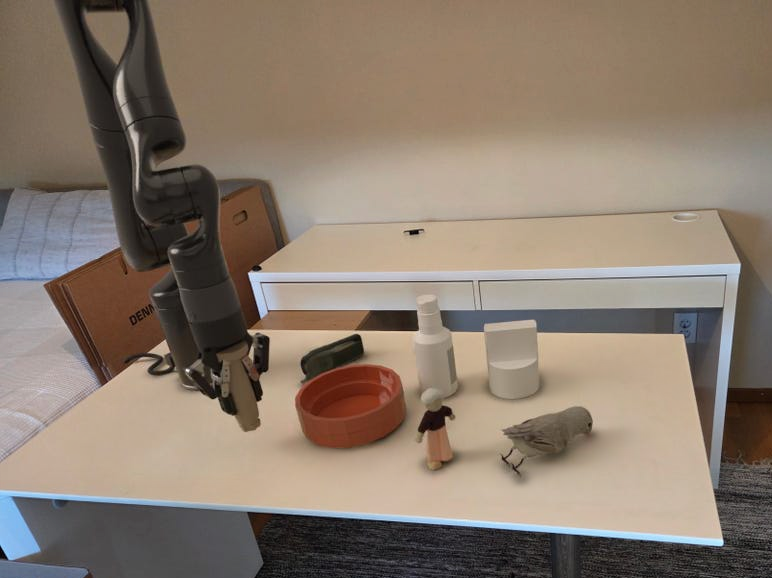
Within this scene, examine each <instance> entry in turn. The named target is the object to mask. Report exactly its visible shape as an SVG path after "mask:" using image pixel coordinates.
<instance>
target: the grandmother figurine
mask: <svg viewBox="0 0 772 578" xmlns="http://www.w3.org/2000/svg"><path fill="white" fill-rule="evenodd" d="M443 397H444V395H443V393H442V391H440V390H439V389H436V388H429V389H427V390H426V391H425V392H423V393H422V392H421V396H420V402H421V404H422V405H423V407H425V409H427V410H426V411H425V412H424V414H423V416H422V418H421V421H420V423H419V425H418V427H417V432H416V437H415V440H414V441H415V443H417V444H421V443H422V442H423V438H424V437H425V433H426V444H425V447H426V458H427V460H426V465H427V467H428V468H429V469H430V470H432V471H437V470H439V469H441V468H442V466H443V463H442V462H445V463H446V462H450V461H451V460H453V459H454V455H453V451H452V446H451V443H450V439H449V435H448V431H447V423H446V418H448V420H449V421H455V420H456V418H457V417H456V414H455V413H454V412H453V409H452V408H451V407H449V406H448V405H444V404H443V399H444V398H443Z"/></svg>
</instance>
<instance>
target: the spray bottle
mask: <svg viewBox="0 0 772 578" xmlns="http://www.w3.org/2000/svg"><path fill="white" fill-rule="evenodd" d="M416 306H417V310H416V314H417V321H418V322H417V324H418V330H417V331H415V332H414V334H413V335H412V346H413V351H414V358H415V365H416V370H417V377H418V384H419V389H420V393H421V394H422V393H423V392H425V391H426V390H427V389H429V388H436V389H439V390H440V391H442V393H443V395H444V397H443V399H445V398H448V397H450V396H453V395H454V394H455V393H456V392H457V390H458V388H459V383H458V374H457V367H456V366H457V365H456V359H455V352H454V351H455V350H454V343H453V334H452V332H451V330H450V329H449V328H447V327H446V326H444V325H443V321H442V315H441V308H440V307H439V303H438V297H437V295H435V294H430V293H429V294H423V295H420V296H418V297H416Z"/></svg>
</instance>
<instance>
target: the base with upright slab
mask: <svg viewBox="0 0 772 578" xmlns="http://www.w3.org/2000/svg"><path fill="white" fill-rule="evenodd" d="M537 326H538V325H537V321H536V319H526V320H525V319H524V320H515V321H503V322H502V321H501V322H492V323H491V322H490V323H484V326H483V333H484V334H483V335H484V345H485V355H486V364H487V365H486V366H487V375H488V387H489V391H490V392H491V393H492V395H494V396H496V397H498V398H501V399H505V400H506V399H507V400H518V399H524V398H528V397H530V396H532V395H534V394H535V393H536V392H537V391H538V390H539V388H540V367H539V366H540V365H539V364H540V363H539V347H538V328H537Z"/></svg>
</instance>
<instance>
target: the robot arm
mask: <svg viewBox="0 0 772 578" xmlns="http://www.w3.org/2000/svg"><path fill="white" fill-rule="evenodd" d="M52 1H53V4H54V6H55V10H56V12H57V16H58V18H59V19H58V20H59V22H60V25H61V27H62V30H63V31H62V32H63V33H64V36H65V39H66V43H67V46H68V48H69V52H70V54H71V58H72V62H73V65H74V68H75V73H76V76H77V80H78V84H79V88H80V92H81V96H82V100H83V105H84V108H85V109H84V110H85V113H86V117H87V122H88V125H89V129H90V132H91V136H92V140H93V142H94V146H95V149H96V152H97V155H98V159H99V162H100V164H101V169H102V171H103V175H104V178H105V181H106V185H107V189H108V194H109V198H110V203H111V208H112V214H113V220H114V225H115V230H116V234H117V238H118V243H119V247H120V250H121V252H122V255H123V257H124V258H125V261H126V263H127V264H128V266H129V267H130V268H131V269H132V270H134V271H136V272H138V273H144V272H150V271H154V270H157V269H162V268H164V267H167V266H171V267H170V269H169V271H167V273H166V274H165V276H163V277H162V278H161V279H160V280H159V281H158V282H156V283H155V284H153V285H152V286H151V287H150V289H149V291H148V295H149V299H150V302H151V304H152V305H151V306H152V307H153V309H154V310H153V311H154V312H155V315H156V318H157V320H158V323H159V326H160V328H161V331H162V334H163V336H164V339H165V342H166V345H167V347H168V350H169V352H168V353H165V354H163V356H162V355H160V354H157V353H153V352H138V353H134V354H131V355H128V356H127V357H126V358H125V359H123V362H122V364H123V365H126V364H129V363H130V361H132V360H135V359H138V358H151V359H157V360H156V361H155V362H153V363H152V364H151V365H150V366H149V367H148V368H147V373H148V374H149V375H153V376H162V375H167V374H170V373H172V372H173V371H174V370H175V369H176V372H177V374H178V377H179V380H180V383H181V386H182V387H183V388H184V389H187V390H191V391H192V390H193V391H194V390H195V391H196V390H197V391H199V393H201V394H202V395H203V396H205V397H208V398H209V399H210V400H216V399H217V400H218V403H219V407H220V409H221V411H222V412H223V413H225V414H227V415H230V416H232V417H235V416H234V415H236V414H237V411H236V408H235V405H234V401H233V398H232V395H231V394H229V382H230V364H231V362H225V361H224V359H222V361H221V363H220V362H219V361H218V358H217V355H216V354H217V353H219V352H221V351H223V350H225V349H227V348H229V347H232V346H234V345H236V344H238V343H240V342H242V341H245V342H247V345H248V352H247V353H246V354H245V355H244V356H243V357H241V358H240V359H241V361H242V363H243V365H244V368H245V370H246V373H247V376H248V378H249V381H250V383H251V386H252V389H253V391H254V394H255V397H256V401H257V403H259V402H261V401H262V400H263V396H264V391H263V387H262V384H261V380H260V378H261V375H262V374H263V373H266V372H268V371H269V365H270V346H271V345H270V343H271V342H270V341H271V339H270V336H268V335H266V334H263V333H261V332H256V333H254V334H252V335H251V334H250V333H249V332H248V325H247V322H246V318H245V315H244V311H243V307H242V305H241V301H240V295H239V294H238V291H237V288H236V285H235V283H234V281H233V279H232V276H231V274H230V270H229V266H228V264H227V260H226V256H225V252H224V249H223V245H222V237H221V190H220V184H219V181H218V179H217V178H216V176H215V175H214V173H213V172H212V171H211V170H210V169H208V168H207V167H205V166H204V165H202V164H197V163H196V164H188V165H182V166H176V167H171V168H165V169H160V170H156V168H157V167H158V166H159V165H160V164H162V163H164V162H166V161H168V160H170V159H172V158H175V157H176V156H179V155H180V154H181V153H183V152H184V151H185V149H186V147H187V136H186V133H185V130H184V127H183V124H182V122H181V119H180V117H179V113H178V110H177V108H176V105H175V102H174V99H173V96H172V95H171V91H170V88H169V84H168V81H167V77H166V73H165V70H164V65H163V60H162V56H161V51H160V46H159V40H158V36H157V32H156V27H155V23H154V20H153V19H154V18H153V16H152V10H151V7H150V2H149V0H52ZM110 13H111V14H112V13H120V14H121V13H125V16H126V20H127V35H126V39H125V43H124V47H123V49H122V53H121V56H120V58H119V60H118V63H116V61H115V60H114V59H113V57H112V56H111V55H110V54H109V53H108V52H107V50H106V49H105V48H104V47H103V45H102V44H101V43H100V41H99V40H98V39H97V37H96V35H95V34H94V32H93V31H92V29H91V28H90V26H89V24H88V21H87V19H86V14H110ZM195 221H198V224H197V226H196V228H195V229H194V230H193V232H191V233H190V234H189V230H188V228H187V226H186V223H190V222H195ZM252 348H253V355H252V356H253V358H252V359H251V358H250V356H249V355H250V352H251V349H252ZM164 360H165V362H166V365H167V366H169V367H167V368H166V369H162V370H155V369H156V368H157V367H158V366H160V365H161V364H162V363H163V362H164Z"/></svg>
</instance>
